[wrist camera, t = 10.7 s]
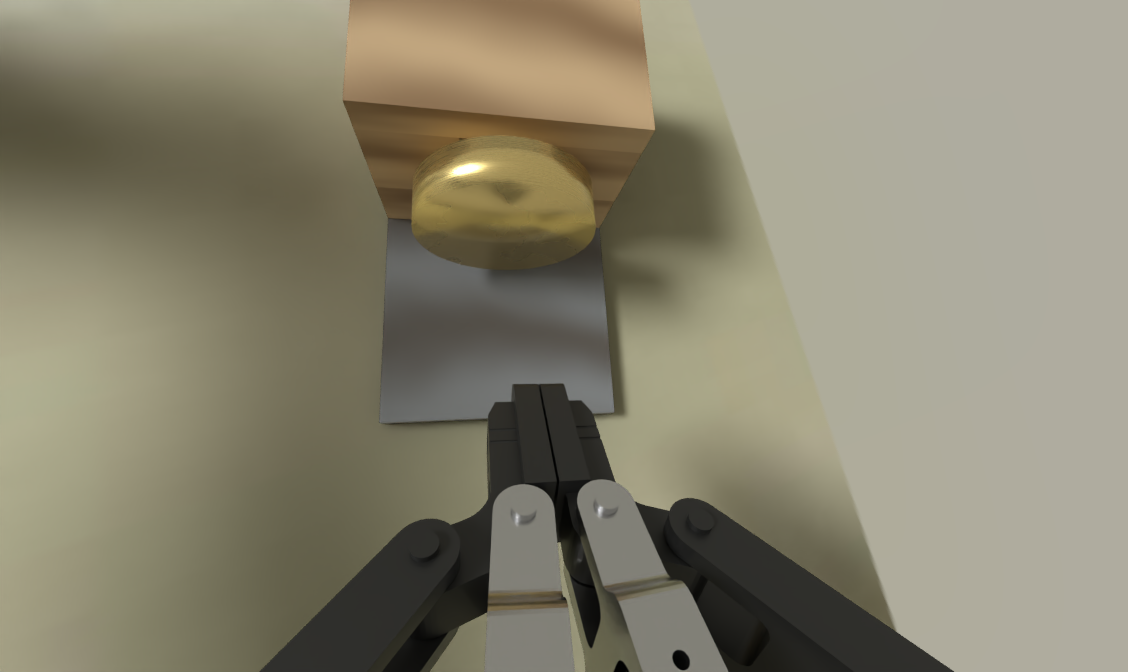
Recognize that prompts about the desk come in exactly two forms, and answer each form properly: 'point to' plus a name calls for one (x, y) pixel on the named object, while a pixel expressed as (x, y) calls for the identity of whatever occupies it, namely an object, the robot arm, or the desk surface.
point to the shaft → (502, 203)
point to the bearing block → (487, 108)
